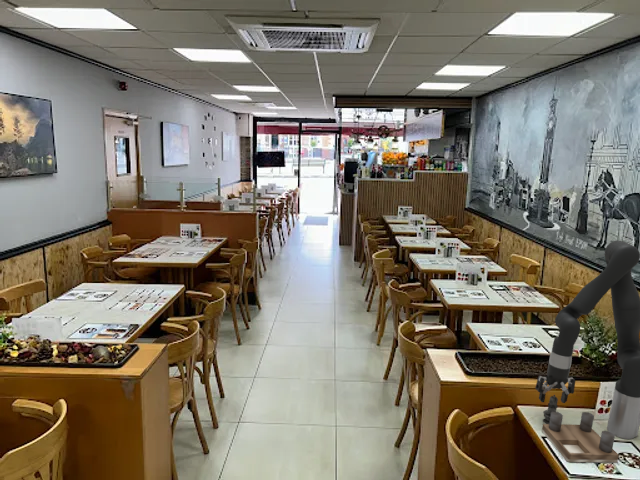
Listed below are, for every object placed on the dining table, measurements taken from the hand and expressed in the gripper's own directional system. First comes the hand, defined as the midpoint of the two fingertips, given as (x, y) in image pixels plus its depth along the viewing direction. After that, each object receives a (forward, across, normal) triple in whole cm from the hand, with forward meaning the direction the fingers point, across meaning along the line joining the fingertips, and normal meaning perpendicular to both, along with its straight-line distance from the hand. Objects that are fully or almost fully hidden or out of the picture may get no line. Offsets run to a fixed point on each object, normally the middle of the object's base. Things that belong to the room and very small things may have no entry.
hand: (552, 401), depth 191 cm
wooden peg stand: (+9, -3, +15) cm, 18 cm away
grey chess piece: (+9, 0, 0) cm, 9 cm away
